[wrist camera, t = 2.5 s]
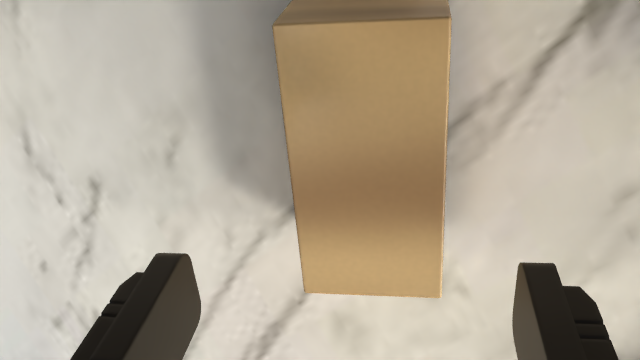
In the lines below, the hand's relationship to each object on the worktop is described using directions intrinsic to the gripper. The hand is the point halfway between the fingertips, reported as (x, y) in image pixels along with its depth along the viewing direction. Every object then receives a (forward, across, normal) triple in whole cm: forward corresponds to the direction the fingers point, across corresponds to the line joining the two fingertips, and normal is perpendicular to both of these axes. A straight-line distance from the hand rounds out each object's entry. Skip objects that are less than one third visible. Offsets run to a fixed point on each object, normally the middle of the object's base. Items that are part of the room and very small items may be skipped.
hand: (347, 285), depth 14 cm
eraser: (+9, 0, 0) cm, 9 cm away
